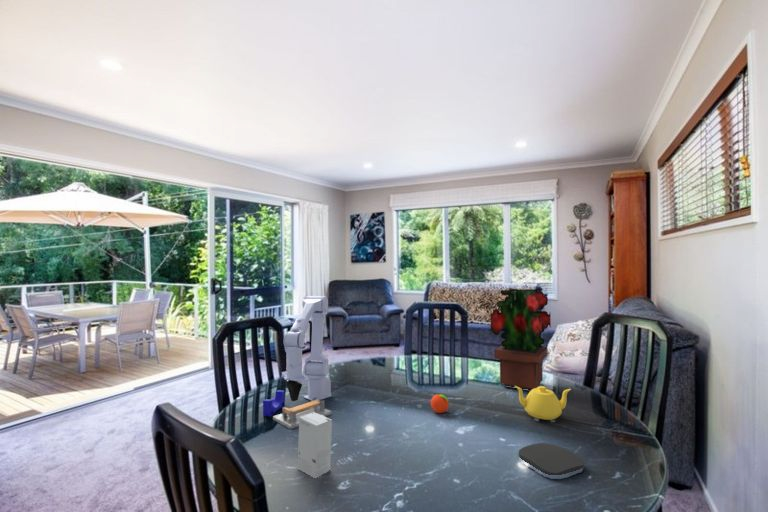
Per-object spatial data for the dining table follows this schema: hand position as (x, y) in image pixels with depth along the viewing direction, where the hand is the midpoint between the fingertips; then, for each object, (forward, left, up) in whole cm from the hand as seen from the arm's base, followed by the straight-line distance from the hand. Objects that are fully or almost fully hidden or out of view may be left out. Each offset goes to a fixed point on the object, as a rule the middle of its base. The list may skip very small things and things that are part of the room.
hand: (294, 400), depth 144 cm
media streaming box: (-33, +81, -8) cm, 88 cm away
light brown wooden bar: (-4, 0, -4) cm, 6 cm away
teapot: (-65, +66, -7) cm, 93 cm away
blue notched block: (+1, -15, -8) cm, 16 cm away
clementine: (-42, +36, -7) cm, 56 cm away
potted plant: (-94, +45, -7) cm, 105 cm away
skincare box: (+16, +34, -7) cm, 38 cm away
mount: (-3, 0, -7) cm, 8 cm away
